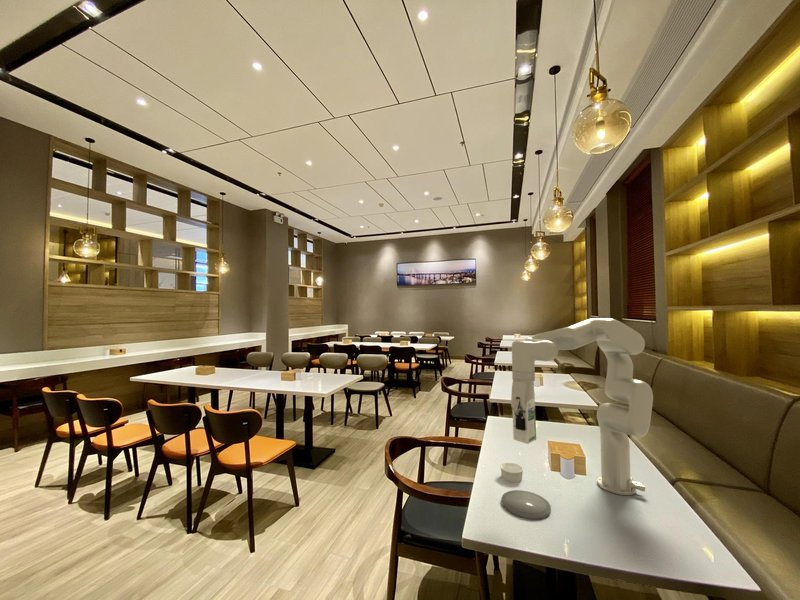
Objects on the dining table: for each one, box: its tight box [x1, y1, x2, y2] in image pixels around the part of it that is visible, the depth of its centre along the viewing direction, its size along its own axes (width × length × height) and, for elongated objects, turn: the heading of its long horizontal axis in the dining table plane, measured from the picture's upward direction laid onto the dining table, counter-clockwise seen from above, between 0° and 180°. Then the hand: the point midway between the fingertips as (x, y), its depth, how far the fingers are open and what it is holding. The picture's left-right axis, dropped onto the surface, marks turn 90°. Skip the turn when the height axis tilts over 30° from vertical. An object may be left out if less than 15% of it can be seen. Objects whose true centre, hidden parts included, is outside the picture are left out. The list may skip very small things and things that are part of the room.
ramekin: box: [499, 462, 524, 483], centre depth 135 cm, size 9×9×4 cm
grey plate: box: [501, 489, 552, 521], centre depth 115 cm, size 16×16×1 cm
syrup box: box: [511, 398, 537, 445], centre depth 117 cm, size 6×6×14 cm
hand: (524, 426), depth 116 cm, fingers closed on syrup box, 6 cm apart
